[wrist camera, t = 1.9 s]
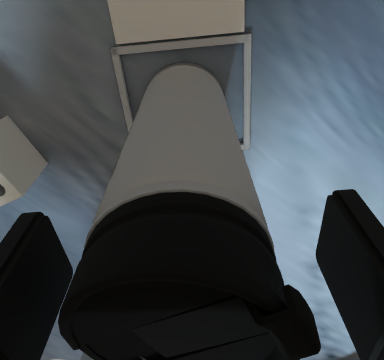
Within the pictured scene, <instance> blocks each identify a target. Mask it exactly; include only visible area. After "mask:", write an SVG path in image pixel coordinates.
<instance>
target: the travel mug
mask: <svg viewBox="0 0 384 360" xmlns="http://www.w3.org/2000/svg"><path fill="white" fill-rule="evenodd" d="M58 324H59V329H60V334H61V335H62V337H63V338H64V339H65V340H66V342H67V343H68V344H69V345H70V346H71V348H72V349H73V350H77V349H80V350H81V351H83V352H84V353H85V354H86V355H88V356H89V357H90V358H92V359H93V360H300V359H302V358H305V357H309V356H312V355H316V354H318V353H319V351H320V349H321V344H320V340H319V335H318V331H317V327H316V323H315V319H314V315H313V313H312V311H311V309H310V308H309V306H308V304H307V302H306V301H305V299H304V298H303V296H302V295H301V294H300V292H299V291H298V290H296V289H295V288H293V287H292V286H290V285H285V286H284V281H283V278H282V275H281V272H280V270H279V267H278V265H277V262H276V256H275V253H274V245H273V241H272V238H271V236H270V233H269V231H268V227H267V223H266V220H265V217H264V214H263V211H262V208H261V205H260V202H259V199H258V196H257V193H256V190H255V187H254V184H253V181H252V178H251V175H250V172H249V169H248V166H247V163H246V160H245V157H244V154H243V151H242V148H241V145H240V142H239V139H238V136H237V133H236V130H235V127H234V124H233V121H232V118H231V115H230V112H229V109H228V106H227V103H226V100H225V97H224V93H223V91H222V88H221V86H220V83H219V82H218V80H217V79H216V77H215V76H214V75H213V74H212V73H211V72H210V71H208V70H207V69H205V68H204V67H202V66H199V65H197V64H193V63H187V62H183V63H175V64H171V65H169V66H166V67H164V68H163V69H161V70H160V71H159V72H157V73H156V74H155V75H154V77H153V78H152V79H151V81H150V83H149V84H148V86H147V89H146V91H145V94H144V96H143V99H142V101H141V104H140V106H139V109H138V111H137V114H136V116H135V119H134V121H133V124H132V126H131V129H130V131H129V134H128V136H127V138H126V141H125V143H124V146H123V148H122V151H121V153H120V156H119V158H118V161H117V163H116V166H115V168H114V171H113V173H112V176H111V178H110V181H109V183H108V186H107V188H106V191H105V193H104V196H103V198H102V201H101V203H100V206H99V208H98V211H97V213H96V216H95V218H94V222H93V225H92V227H91V228H90V231H89V233H88V236H87V239H86V243H85V247H84V251H83V255H82V259H81V261H80V262H79V264H78V266H77V269H76V271H75V274H74V276H73V279H72V281H71V284H70V286H69V289H68V292H67V294H66V297H65V299H64V302H63V304H62V307H61V309H60V314H59V319H58Z"/></svg>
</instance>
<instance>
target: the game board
mask: <svg viewBox="0 0 384 360" xmlns="http://www.w3.org/2000/svg"><path fill="white" fill-rule="evenodd" d="M107 2H108V7H109V12H110V17H111V21H112V26H113V31H114V36H115V41H116V44H124V43H134V42H145V41H155V40H165V39H175V38H185V37H196V36H206V35H216V34H226V33H236V32H244V2H245V0H107ZM251 36H252V34H251V33H250V34H239V35H229V36H219V37H209V38H198V39H188V40H178V41H168V42H158V43H147V44H137V45H127V46H117V47H111V48H110V51H111V55H112V60H113V65H114V69H115V74H116V78H117V83H118V88H119V92H120V97H121V101H122V106H123V110H124V115H125V120H126V124H127V129H128V133H129V131H130V129H131V126H132V124H133V118H132V113H131V108H130V103H129V98H128V93H127V88H126V83H125V78H124V74H123V69H122V64H121V59H120V55H122V54H132V53H142V52H153V51H163V50H173V49H184V48H194V47H204V46H215V45H225V44H235V43H243V143H240V145H241V148H242V150H250V96H251Z"/></svg>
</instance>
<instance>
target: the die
mask: <svg viewBox="0 0 384 360" xmlns="http://www.w3.org/2000/svg"><path fill="white" fill-rule="evenodd" d="M47 165H48V163H47V162H46V160H45V159H44V158H43V157H42V156H41V154H40V153H39V152H38V151H37V150H36V149H35V147H34V146H33V145H32V144H31V143H30V141H29V140H28V139H27V138H26V137H25V135H24V134H23V133H22V132H21V131H20V129H19V128H18V127H17V126H16V125H15V123H14V122H13V121H12V120H11V119H10V117H9V116H8V115H7V116H5V117H4V118H2V119H0V206H2V205H4V204H7V203H9V202H11V201H13V200H15V199H18V198H20V197H22V196H23V195H24V194H25V193H26V192H27V190H28V189H29V188H30V187H31V185H32V184H33V183H34V181H35V180H36V179H37V178H38V176H39V175H40V174H41V173H42V171H43V170H44V169H45V167H46V166H47Z"/></svg>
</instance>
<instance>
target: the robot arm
mask: <svg viewBox="0 0 384 360" xmlns="http://www.w3.org/2000/svg"><path fill="white" fill-rule="evenodd" d="M316 259H317V263H318V265H319V267H320V270H321V272H322V274H323V276H324V279H325V281H326V283H327V285H328V288H329V290H330V292H331V294H332V297H333V299H334V301H335V304H336V306H337V308H338V310H339V313H340V315H341V317H342V319H343V322H344V324H345V326H346V328H347V331H348V333H349V335H350V337H351V340H352V342H353V344H354V346H355V349H356V351H357V353H358V356H359V358H360V360H384V227H383V226H382V224H381V223H380V222H379V220H378V219H377V218H376V217H375V215H374V214H373V213H372V211H371V210H370V209H369V207H368V206H367V205H366V204H365V202H364V201H363V200H362V198H361V197H360V196H359V194H358V193H357V192H356V191H355V190H353V189H348V190H336V191H334V192H333V194H332V195H329V196H328V197H327V200H326V205H325V210H324V215H323V220H322V225H321V230H320V234H319V239H318V244H317V249H316ZM72 276H73V269H72V266H71V264H70V262H69V260H68V257H67V255H66V253H65V251H64V249H63V247H62V245H61V242H60V240H59V238H58V236H57V234H56V232H55V230H54V227H53V225H52V223H51V221H50V219H49V217H48V216H44V214H43V213H42V212H31V213H23V214H21V215H20V216H19V217H18V219H17V220H16V222H15V223H14V224H13V226H12V227H11V229H10V230H9V231H8V233H7V234H6V236H5V237H4V239H3V240H2V241H1V243H0V360H40V359H41V356H42V354H43V351H44V348H45V346H46V343H47V341H48V338H49V336H50V333H51V331H52V328H53V325H54V323H55V320H56V318H57V315H58V313H59V310H60V307H61V305H62V302H63V300H64V297H65V295H66V292H67V290H68V287H69V284H70V282H71V279H72ZM81 360H93V359H92V358H90V357H89V356H88V355H86V354H85V353H84V352H83V353H82V357H81Z"/></svg>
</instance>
